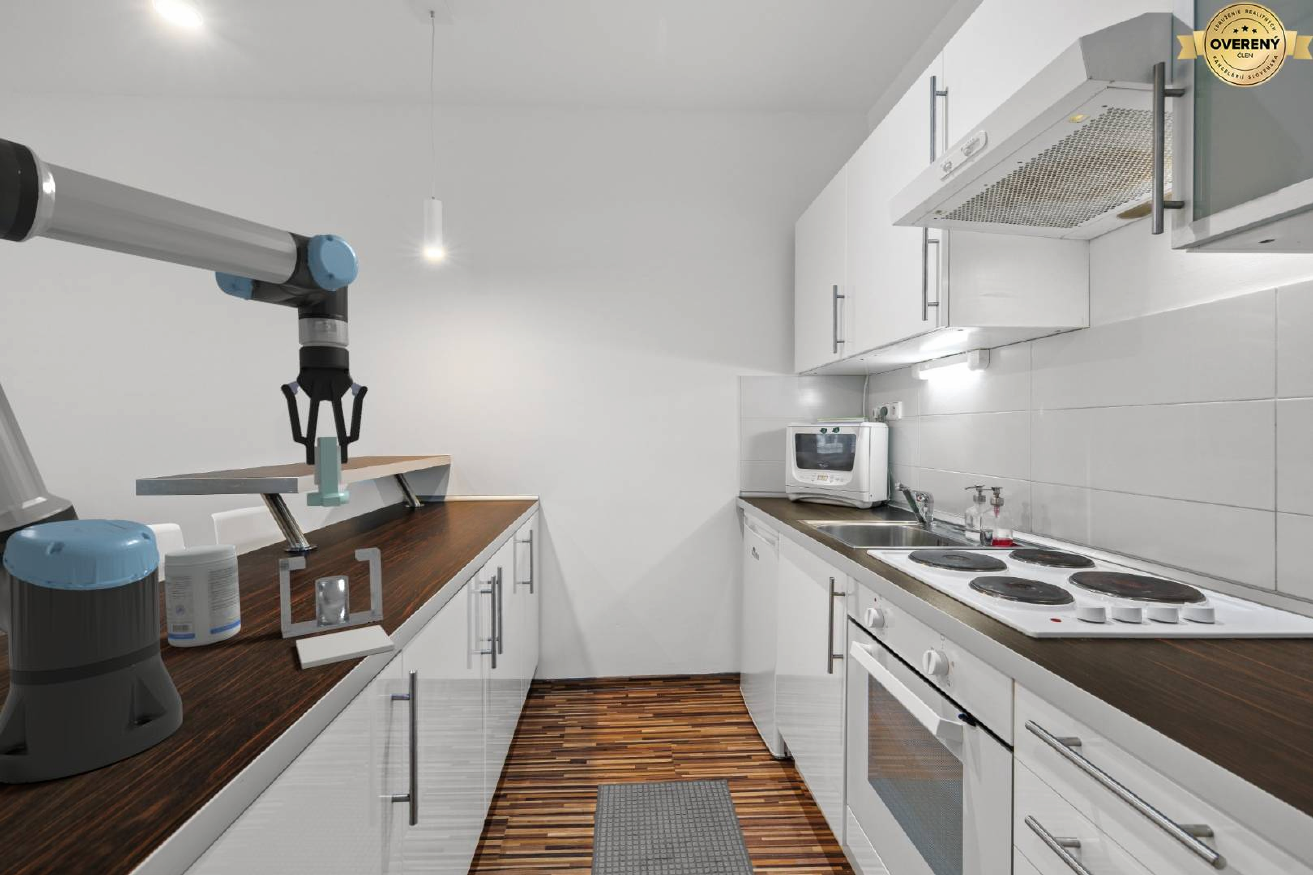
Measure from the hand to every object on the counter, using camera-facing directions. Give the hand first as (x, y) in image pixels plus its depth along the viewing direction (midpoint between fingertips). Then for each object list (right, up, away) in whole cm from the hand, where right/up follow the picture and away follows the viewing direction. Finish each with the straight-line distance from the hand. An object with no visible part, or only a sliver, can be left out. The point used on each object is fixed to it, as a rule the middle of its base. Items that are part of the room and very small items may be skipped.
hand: (327, 483), depth 103 cm
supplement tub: (-17, -25, -5) cm, 31 cm away
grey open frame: (+1, -25, 0) cm, 25 cm away
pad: (+9, -24, -11) cm, 28 cm away
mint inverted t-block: (0, -4, 0) cm, 4 cm away
